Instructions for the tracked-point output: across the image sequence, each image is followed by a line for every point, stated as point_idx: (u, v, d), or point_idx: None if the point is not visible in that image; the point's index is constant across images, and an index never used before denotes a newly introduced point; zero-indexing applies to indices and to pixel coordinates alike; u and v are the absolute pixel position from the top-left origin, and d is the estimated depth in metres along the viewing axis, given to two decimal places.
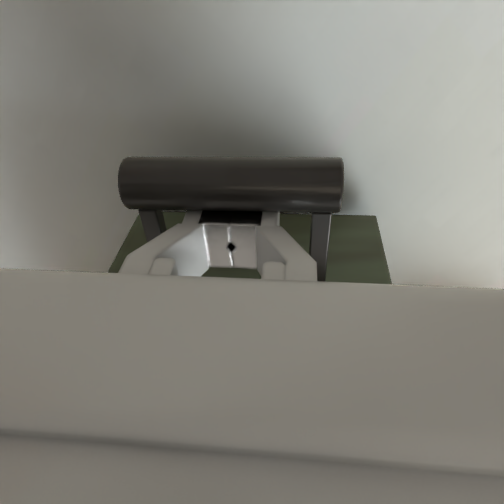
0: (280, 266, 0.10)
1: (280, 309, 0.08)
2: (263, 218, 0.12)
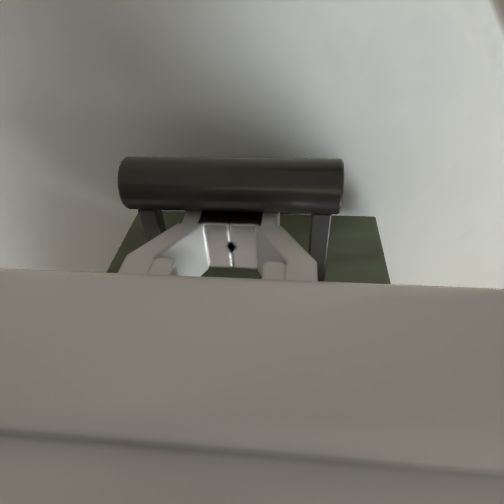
0: (280, 266, 0.10)
1: (280, 309, 0.08)
2: (263, 218, 0.12)
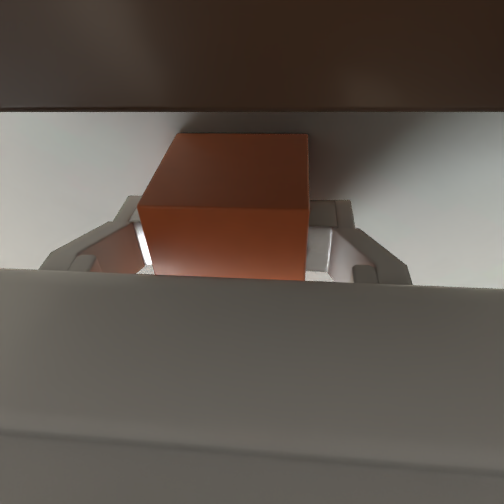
0: (370, 270, 0.10)
1: (280, 309, 0.08)
2: (339, 220, 0.12)
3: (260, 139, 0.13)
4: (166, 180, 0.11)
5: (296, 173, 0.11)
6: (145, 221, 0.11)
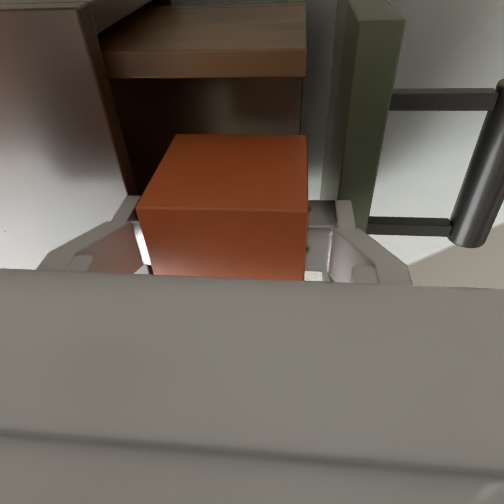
0: (371, 269, 0.10)
1: (280, 309, 0.08)
2: (339, 220, 0.12)
3: (259, 140, 0.13)
4: (165, 181, 0.11)
5: (295, 174, 0.11)
6: (144, 222, 0.11)
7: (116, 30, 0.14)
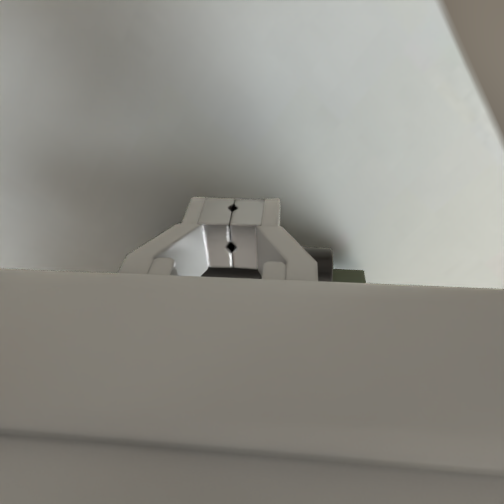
0: (280, 266, 0.10)
1: (280, 309, 0.08)
2: (264, 218, 0.12)
3: None
4: None
5: None
6: None
7: None
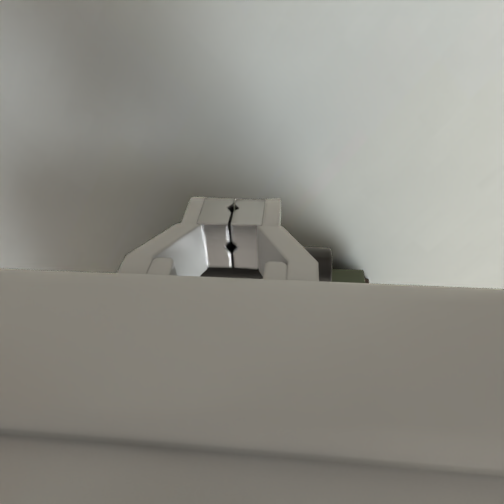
0: (281, 266, 0.10)
1: (280, 309, 0.08)
2: (264, 218, 0.12)
3: None
4: None
5: None
6: None
7: None
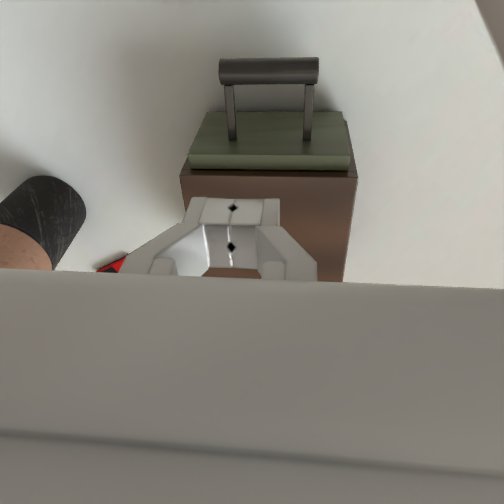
0: (279, 266, 0.10)
1: (280, 309, 0.08)
2: (263, 218, 0.12)
3: None
4: None
5: None
6: None
7: None
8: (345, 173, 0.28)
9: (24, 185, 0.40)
